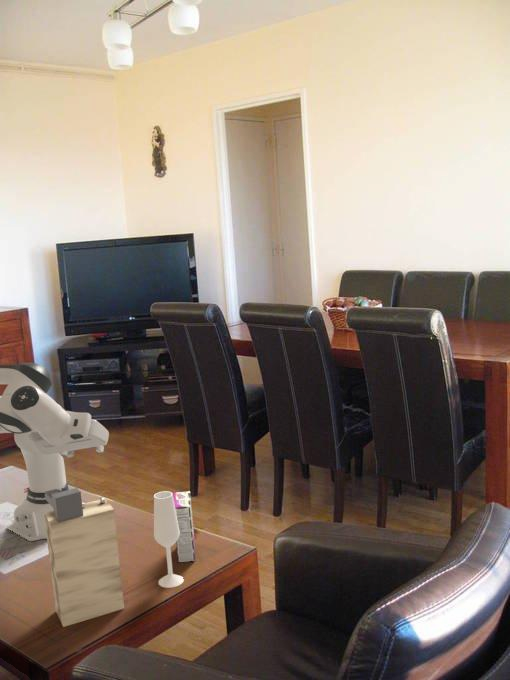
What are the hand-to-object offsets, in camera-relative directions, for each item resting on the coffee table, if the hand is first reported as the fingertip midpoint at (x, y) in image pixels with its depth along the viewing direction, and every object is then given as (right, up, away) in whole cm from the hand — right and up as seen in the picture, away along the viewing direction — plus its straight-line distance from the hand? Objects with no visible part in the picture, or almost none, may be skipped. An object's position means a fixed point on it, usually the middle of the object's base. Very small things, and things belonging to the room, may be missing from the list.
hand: (86, 452), depth 204 cm
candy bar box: (+27, -29, +5) cm, 40 cm away
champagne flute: (+24, -32, -10) cm, 42 cm away
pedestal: (+6, -35, -21) cm, 42 cm away
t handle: (-1, -10, -24) cm, 26 cm away
